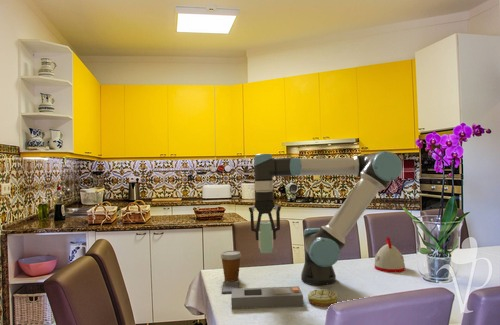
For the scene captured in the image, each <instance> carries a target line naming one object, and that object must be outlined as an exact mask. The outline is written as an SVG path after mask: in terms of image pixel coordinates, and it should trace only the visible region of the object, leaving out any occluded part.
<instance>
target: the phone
mask: <svg viewBox="0 0 500 325" xmlns="http://www.w3.org/2000/svg"><path fill="white" fill-rule="evenodd" d="M238 288H240V281H224V282H222V288H221V294H222V295H224V294H225V295H230V294H231V295H232V289H238Z"/></svg>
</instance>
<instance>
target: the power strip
mask: <svg viewBox="0 0 500 325" xmlns="http://www.w3.org/2000/svg"><path fill="white" fill-rule="evenodd" d="M230 298H231V300H230V301H231V302H230V303H231V306H230V307H231V309H232V310H240V309H241V310H242V309H244V310H245V309H267V308H269V309H271V308H292V307H294V308H296V307H300V308H301V307H304V294H303V293H302V291H301V289H300V287H299V285H298V286H276V287H275V286H273V287H272V286H271V287H244V288H243V287H241V288H240V287H239V288H238V289H232V294H231V297H230Z"/></svg>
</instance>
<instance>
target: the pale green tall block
mask: <svg viewBox="0 0 500 325" xmlns="http://www.w3.org/2000/svg"><path fill="white" fill-rule="evenodd" d="M271 231H272V227H271V223H270V221H260V226H259V232H260V239H261V249H260V254H273V248H272V234H271Z"/></svg>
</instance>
